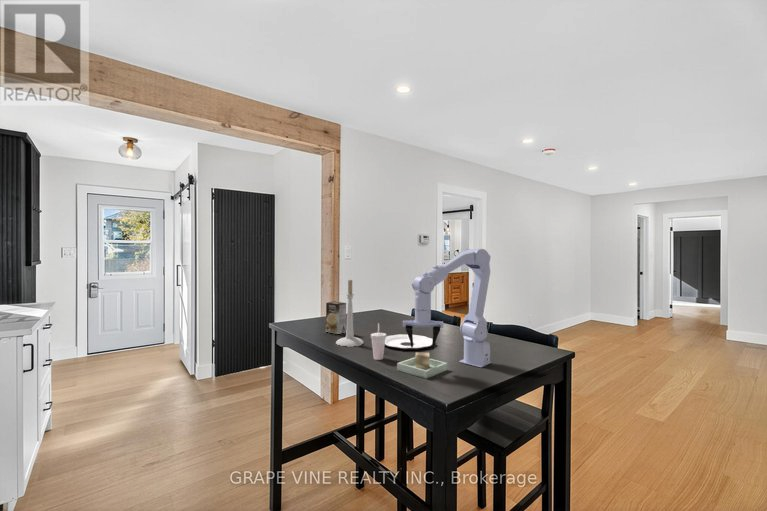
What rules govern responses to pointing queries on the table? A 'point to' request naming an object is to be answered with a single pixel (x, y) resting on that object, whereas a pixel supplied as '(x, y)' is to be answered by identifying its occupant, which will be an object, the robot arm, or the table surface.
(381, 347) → the smoothie
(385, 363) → the table surface
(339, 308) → the coffee box
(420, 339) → the plate
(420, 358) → the maple cube
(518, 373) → the table surface
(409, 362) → the green tray
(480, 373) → the table surface
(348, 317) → the candlestick
